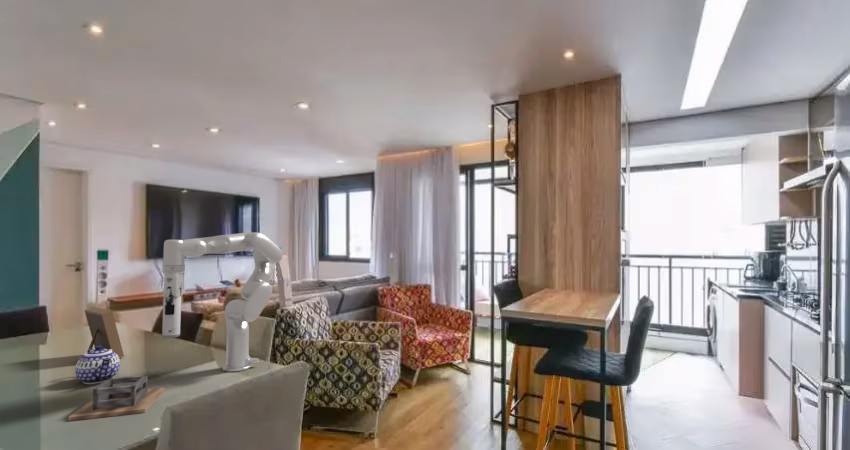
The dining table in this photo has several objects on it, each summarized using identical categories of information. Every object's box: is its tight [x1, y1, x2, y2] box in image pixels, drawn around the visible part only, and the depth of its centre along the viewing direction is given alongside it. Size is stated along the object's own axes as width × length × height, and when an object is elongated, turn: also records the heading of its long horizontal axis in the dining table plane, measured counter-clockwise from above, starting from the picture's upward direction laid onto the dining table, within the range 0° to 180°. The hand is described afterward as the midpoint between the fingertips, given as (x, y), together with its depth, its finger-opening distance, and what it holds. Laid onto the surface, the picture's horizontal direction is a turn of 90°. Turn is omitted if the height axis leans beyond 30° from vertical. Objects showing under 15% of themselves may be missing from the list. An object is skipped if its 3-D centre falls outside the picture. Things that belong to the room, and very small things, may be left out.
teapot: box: [74, 345, 121, 385], centre depth 175 cm, size 25×15×15 cm, turn 51°
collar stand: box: [67, 374, 167, 422], centre depth 148 cm, size 22×22×8 cm
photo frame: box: [84, 306, 125, 359], centre depth 208 cm, size 15×22×25 cm
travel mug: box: [161, 288, 182, 339], centre depth 167 cm, size 6×7×20 cm
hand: (172, 312), depth 167 cm, fingers closed on travel mug, 6 cm apart
